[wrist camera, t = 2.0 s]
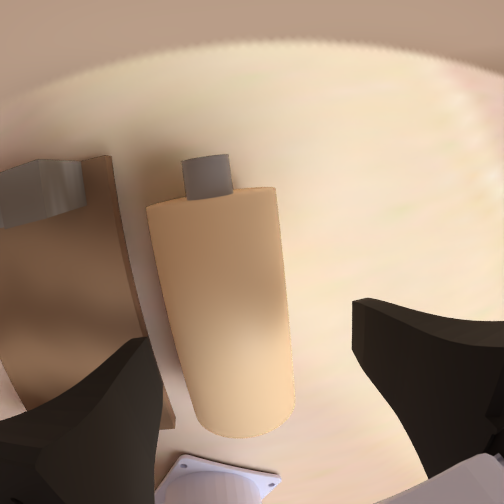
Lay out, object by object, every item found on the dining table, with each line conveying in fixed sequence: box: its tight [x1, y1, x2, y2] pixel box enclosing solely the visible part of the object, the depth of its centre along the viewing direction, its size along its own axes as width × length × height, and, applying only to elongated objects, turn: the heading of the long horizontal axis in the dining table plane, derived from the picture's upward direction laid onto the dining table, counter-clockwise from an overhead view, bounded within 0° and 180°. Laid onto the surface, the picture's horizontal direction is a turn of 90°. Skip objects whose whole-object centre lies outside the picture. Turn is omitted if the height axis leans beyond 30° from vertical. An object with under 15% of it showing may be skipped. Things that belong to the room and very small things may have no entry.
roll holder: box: [0, 155, 176, 430], centre depth 12 cm, size 15×10×5 cm, turn 7°
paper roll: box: [146, 154, 295, 438], centre depth 13 cm, size 13×5×5 cm, turn 7°
